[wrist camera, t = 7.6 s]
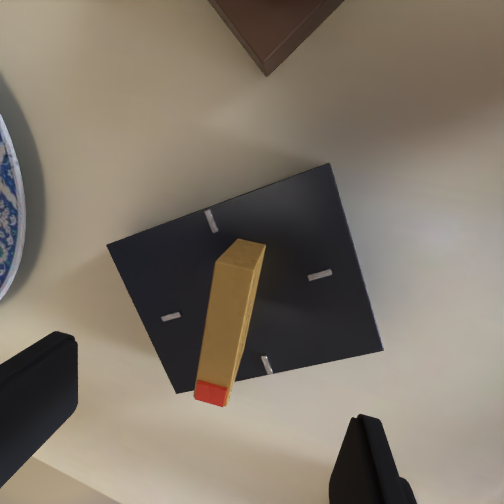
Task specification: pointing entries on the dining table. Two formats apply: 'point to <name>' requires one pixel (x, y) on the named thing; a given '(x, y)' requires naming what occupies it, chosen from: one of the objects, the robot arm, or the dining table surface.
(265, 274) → the plate
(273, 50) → the button block
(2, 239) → the ceramic plate
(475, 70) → the dining table surface
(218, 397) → the tap lever
